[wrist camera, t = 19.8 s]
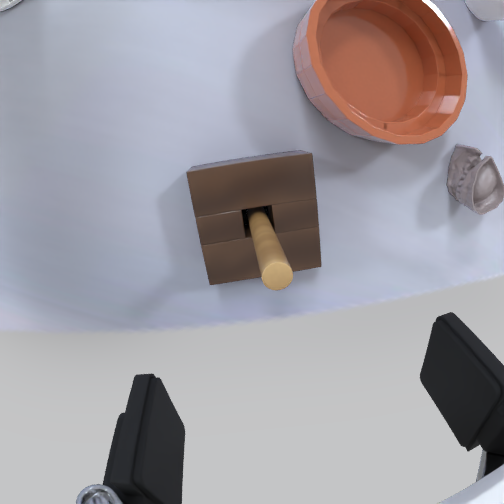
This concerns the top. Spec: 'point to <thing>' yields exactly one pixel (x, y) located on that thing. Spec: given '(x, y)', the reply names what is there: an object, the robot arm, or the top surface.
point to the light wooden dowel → (268, 251)
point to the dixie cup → (487, 9)
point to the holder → (250, 196)
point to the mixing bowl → (381, 68)
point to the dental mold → (474, 180)
